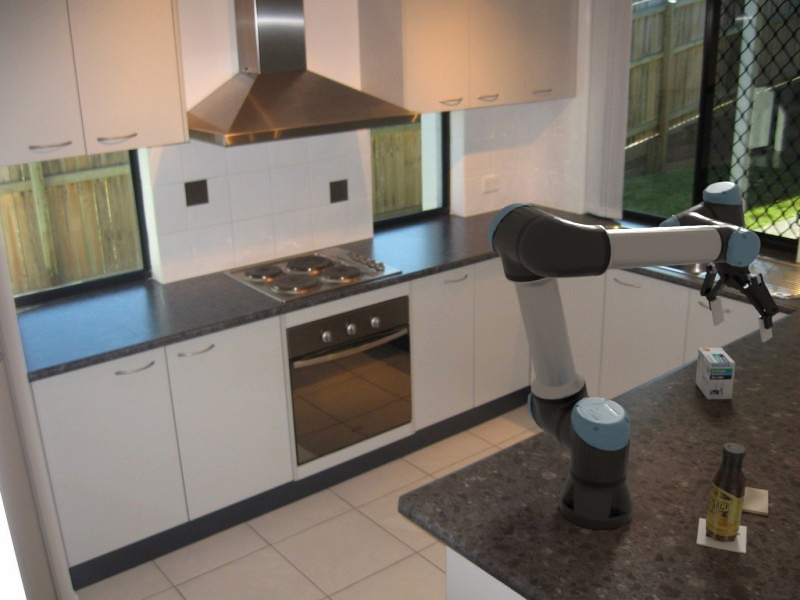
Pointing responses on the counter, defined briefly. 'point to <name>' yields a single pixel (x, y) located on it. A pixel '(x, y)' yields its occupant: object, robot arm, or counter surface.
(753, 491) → the coaster
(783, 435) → the counter surface
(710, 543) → the tile
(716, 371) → the light bulb box
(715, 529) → the sauce bottle
